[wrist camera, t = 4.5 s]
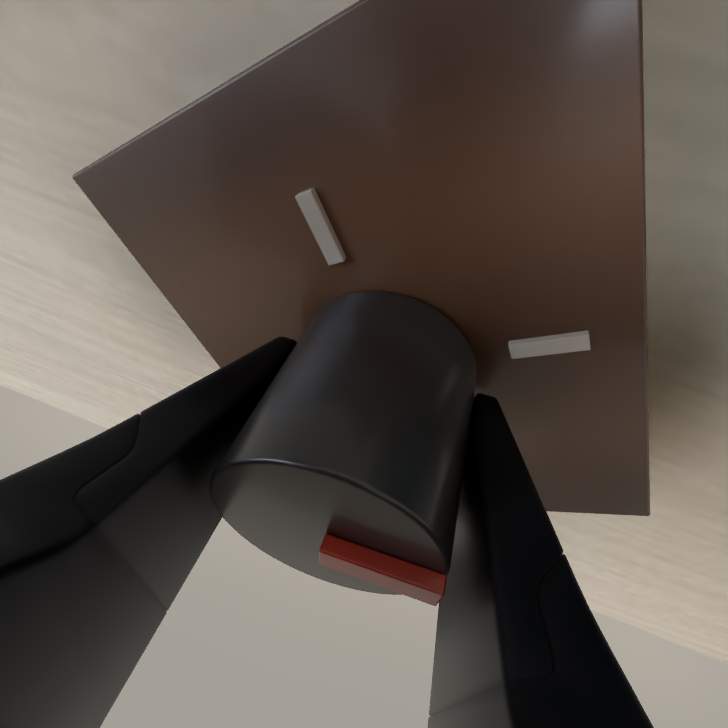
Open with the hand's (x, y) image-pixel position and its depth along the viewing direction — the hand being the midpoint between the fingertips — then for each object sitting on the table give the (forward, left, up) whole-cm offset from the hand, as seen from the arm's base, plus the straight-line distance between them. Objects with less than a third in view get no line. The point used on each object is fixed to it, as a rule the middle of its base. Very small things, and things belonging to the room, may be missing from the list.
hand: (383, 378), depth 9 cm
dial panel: (0, 0, -4) cm, 4 cm away
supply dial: (0, 0, 0) cm, 0 cm away
